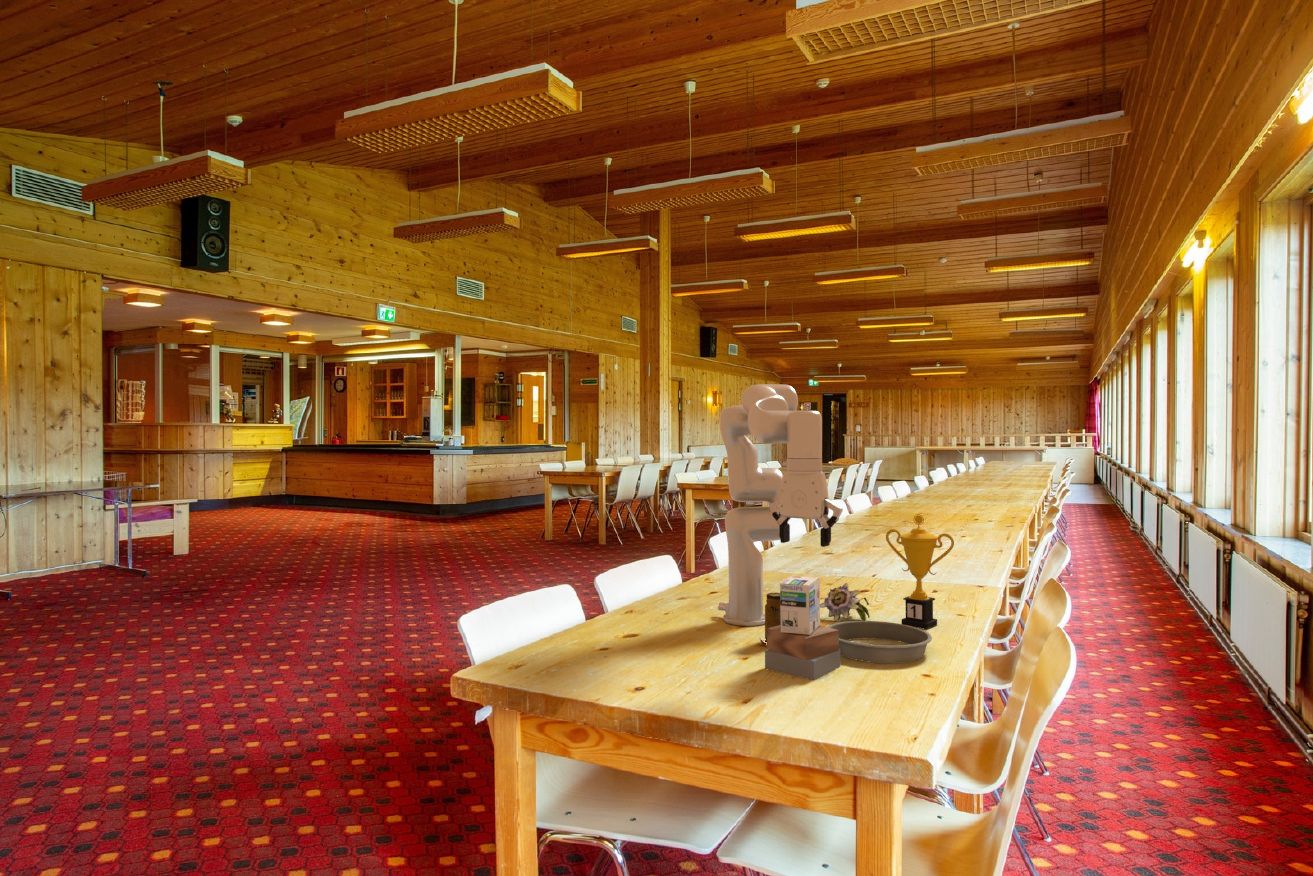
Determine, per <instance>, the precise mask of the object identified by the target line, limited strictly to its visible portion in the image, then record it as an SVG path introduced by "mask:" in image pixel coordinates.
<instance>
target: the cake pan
mask: <svg viewBox="0 0 1313 876" xmlns="http://www.w3.org/2000/svg"><path fill="white" fill-rule="evenodd" d="M827 627H828V628H832V629H836V630H839V649H840V656H841V655H842V656H841V657H844V658H847V659H851V660H855V659H857V660H856V661H860V660H863V661H862V662H866V661H870V662H869V663H875V662H877V663H876V664H879V663H880V664H902V663H903V662H904V663H911V662H915V661H918V660H921V659H922V658H924V656H925V653H926V649H927V645H928V644H929V643H930V642H931V641H932V639H933V636H932V635H931V634H930V633H929V632H927V631H926V630H925V629H921V628H916V627H912V626H908V625H903V624H901V623H895V622H890V621H881V620H879V621H878V620H866V621H862V620H853V621H841V622H836V623H833V624H830V625H828V626H827ZM854 638H875V639H874V640H883V641H885V640H886V641H891V642H897V641H901V642H900V643H902V642H904V643H903V644H879V643H873V644H874V645H871V644H872V643H869V644H863V643H864V642H862V643H857V642H858V641H854V642H851V640H855V639H854ZM849 639H850V640H849ZM906 643H907V644H906ZM878 644H879V645H878ZM909 644H910V645H909ZM917 659H918V660H917ZM914 660H915V661H914ZM910 661H911V662H910Z"/></svg>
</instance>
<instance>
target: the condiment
mask: <svg viewBox="0 0 1313 876" xmlns="http://www.w3.org/2000/svg"><path fill="white" fill-rule="evenodd" d="M765 602H766V604H765V605H764V614H765V624H764V638H765V639H766V640H765V642H767V628H771V627H775V626H779V625H781V615H780V592H768V593H767V594H766V599H765ZM761 638H762V637H761ZM761 638H759V639H760V641H761V640H762V639H761ZM763 641H764V640H763ZM762 644H763V645H764V646H765V647H766V648H767V645H766V643H763V642H762Z"/></svg>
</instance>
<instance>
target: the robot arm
mask: <svg viewBox="0 0 1313 876" xmlns="http://www.w3.org/2000/svg"><path fill="white" fill-rule="evenodd" d="M740 400H741V404H737V405H730V406H728V407H724V409H723V410H722V411H721V413H720V415H719V416H720V417H719V428H720V435H721V438H722V442H723V444H724V447H725V450H726V457H727V478H728V492H729V496H730V497H731V500H733V501H734V502H739V503H762V502H763V503H764V502H765V503H767V506H740V507H735V508H732V509H729V511H728V512H727V513H726V514H725V517H724V528H725V532H726V540H727V541H726V542H727V553H728V555H727V557H728V559H727V560H728V561H727V563H728V602H724V601H720V602H719V603H718V606H717V610H718V611H724V612H725V613H724V615H723V617H722V619H723V622H725V623H727V624H730V625H735V626H746V627H747V626H748V627H750V626H754V627H755V626H761V625H765V613H764V564H763V563H764V560H763V559H764V558H763V555H762V554H761V551H760V550H759V548H757V546H756V545H755V543H754V542H767V541H768V542H770V541H771V542H772V541H780V543H781V544H785V543H789V542H790V540H791V537H790V536H791V525H790V523H789V521H790V520H791V519H803V520H818V522H819V523H820V525H821V528H820V536H819V537H820V539H819V540H820V547H823V548H825V547H829V546H830V544H831V541H832V528H833V527H834V525H835V524H836V523H838V521H839V520H840V517H841V515H842V513H843V511H844V509H843V507H841V506H839V505H837V503H834V502H833V501H831V500H829V498H830V497H829V489H828V488H829V487H828V482H827V479H826V473H825V472H823V455H822V454H823V418H822V417H823V416H822V414H821V413H820V412H819V411H817V410H804V409H803V410H798V409H797V408H798V406H799V398H798V394H797V392H796V390H795V388H793V386H791V385H789V384H786V383H785V384H779V383H777V384H775V383H767V384H766V383H758V384H752V385H750V386H748V387H746V388H745V389H744V391H743V393H742V395H741V399H740ZM747 436H752V437H754V438H755V439H756V440H757V441H758V442H760V443H763V444H786V451H787V452H786V453H787V454H786V455H787V456H786V457H787V458H786V460H783V461H782V464H781V466H782V467H783V468H786V471H787V472H785V471H784V472H783V473H782V471H781V470H780V469H777V468H774V467H760V466H759V459H758V457H759V456H758V454H759V453H758V449H757V448H756V446H755V445H754V443H753V442H752V441H751V440H750V439H749V437H747ZM829 510H831V511H833V514H832V515H831V516H828V515H829V513H830V511H829Z"/></svg>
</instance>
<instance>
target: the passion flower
mask: <svg viewBox="0 0 1313 876" xmlns="http://www.w3.org/2000/svg"><path fill="white" fill-rule="evenodd" d="M860 593H861V591H860V589H855V590H850V589H849V583H847V582H845V583H843V585H842V586H841V585H840V586H837V587H834V588H830V589H829V591H828V592H827V597H825V598H824V602H822V603H820V609H821V608H823V609H824V608H826V609H827V610H828V618H832V617H833V621H834V620H835V621H834V622H838V621H839V620H840V618H841V615H842V617H843V618H844V619H848V618H849V617H850V615H851V613H850V610H851V609H852V610H855V611H856V612H857V614H858V616H859V617H860V619H861V621H867V617H868V619H870V612H869V610H868V608H867V607H866V606H865V605H863V604H862V603H861V600H864V601H865V602H866V604H867V606H869V605H870V602H869V601H868V599H867V597H866V596H865V597H862V598H860V597H857V596H858V595H859V594H860ZM837 620H838V621H837Z"/></svg>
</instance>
